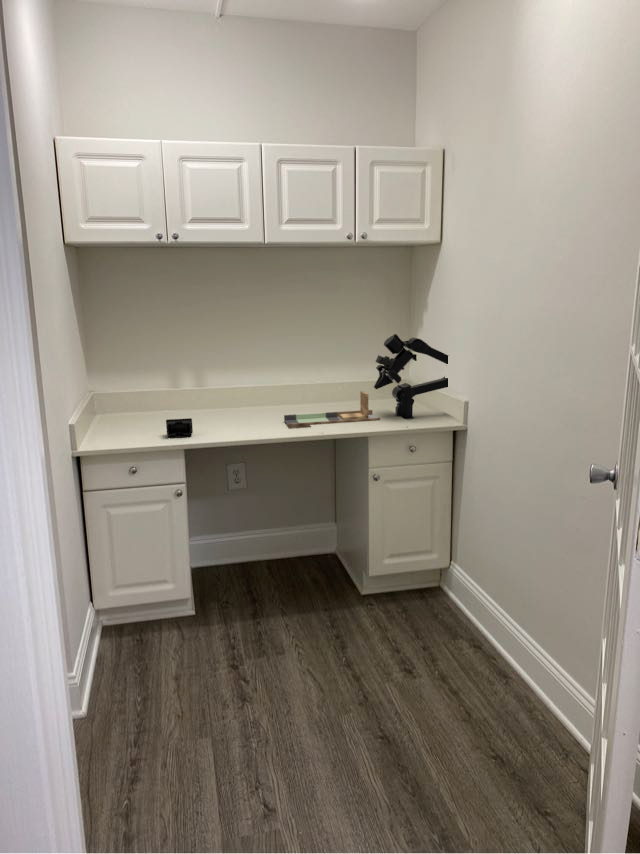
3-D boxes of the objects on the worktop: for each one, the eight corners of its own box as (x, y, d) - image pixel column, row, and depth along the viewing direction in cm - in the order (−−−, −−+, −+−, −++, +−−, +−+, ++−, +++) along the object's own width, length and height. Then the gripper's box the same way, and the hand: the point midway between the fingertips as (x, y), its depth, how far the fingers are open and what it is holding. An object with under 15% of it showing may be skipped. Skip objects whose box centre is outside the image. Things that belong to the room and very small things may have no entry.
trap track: (371, 416, 292) (371, 409, 291) (379, 421, 281) (379, 414, 280) (284, 421, 284) (284, 415, 283) (288, 427, 273) (288, 420, 272)
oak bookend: (363, 416, 288) (363, 391, 285) (368, 419, 281) (368, 393, 279) (339, 417, 286) (339, 392, 283) (343, 421, 279) (343, 395, 276)
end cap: (192, 433, 267) (191, 416, 266) (192, 437, 260) (191, 420, 259) (167, 434, 266) (166, 418, 264) (166, 438, 259) (165, 422, 257)
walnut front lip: (379, 421, 281) (379, 417, 281) (380, 422, 280) (380, 418, 279) (288, 427, 273) (288, 423, 273) (289, 428, 272) (289, 424, 271)
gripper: (380, 346, 288) (356, 372, 289) (394, 351, 271) (368, 379, 271) (397, 363, 292) (373, 389, 292) (412, 369, 274) (386, 397, 275)
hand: (375, 388), depth 282 cm, fingers closed
